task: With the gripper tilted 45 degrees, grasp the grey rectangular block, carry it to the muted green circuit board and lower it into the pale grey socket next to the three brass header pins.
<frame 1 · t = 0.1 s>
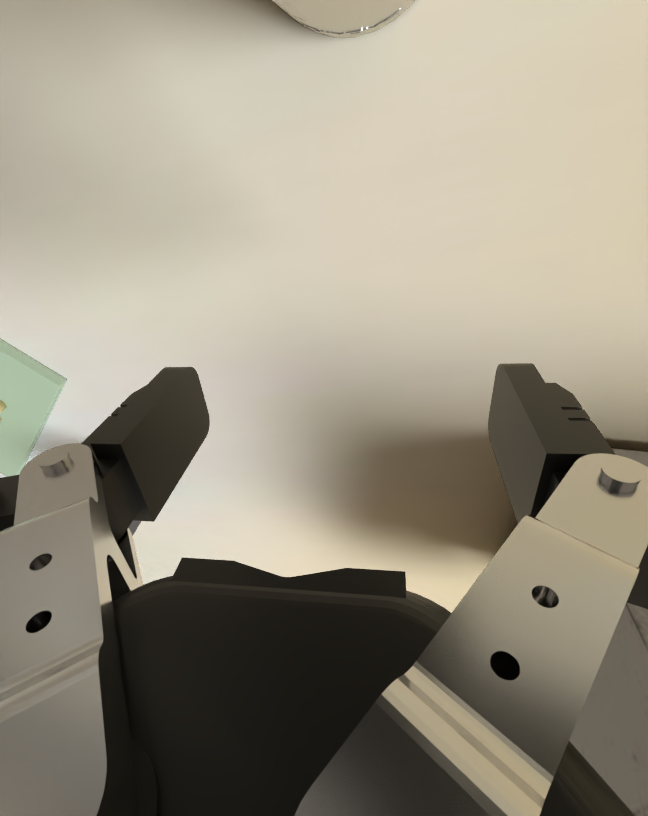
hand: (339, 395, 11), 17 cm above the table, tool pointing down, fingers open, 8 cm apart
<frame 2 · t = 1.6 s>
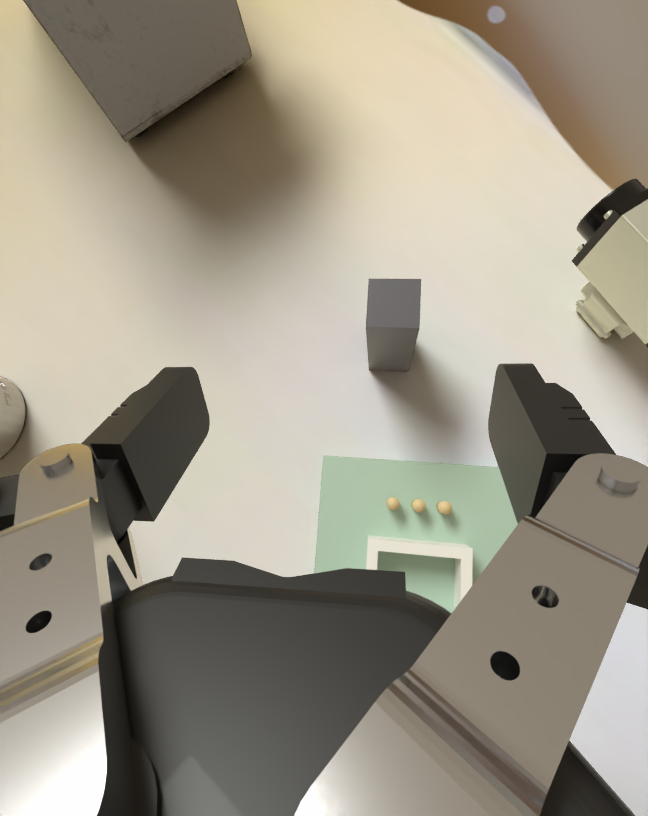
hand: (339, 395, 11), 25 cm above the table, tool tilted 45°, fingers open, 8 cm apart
grey rectangular block: (389, 351, 38), on the table
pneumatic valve: (605, 312, 36), on the table
vintage electronic device: (142, 28, 50), on the table
circuit board: (413, 587, 33), on the table
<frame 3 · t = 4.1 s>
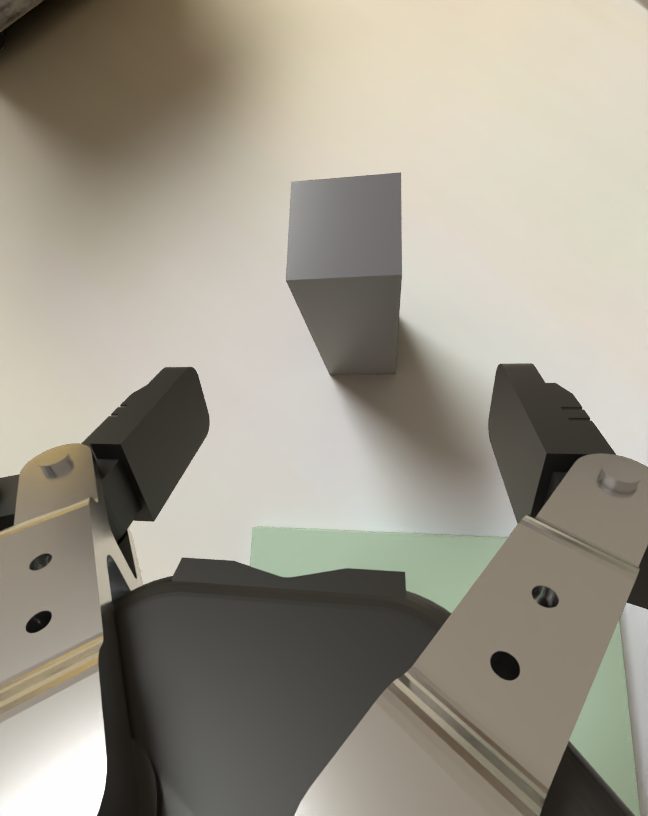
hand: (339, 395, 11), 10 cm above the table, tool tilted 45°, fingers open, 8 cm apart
grey rectangular block: (362, 343, 23), on the table
circuit board: (422, 774, 18), on the table
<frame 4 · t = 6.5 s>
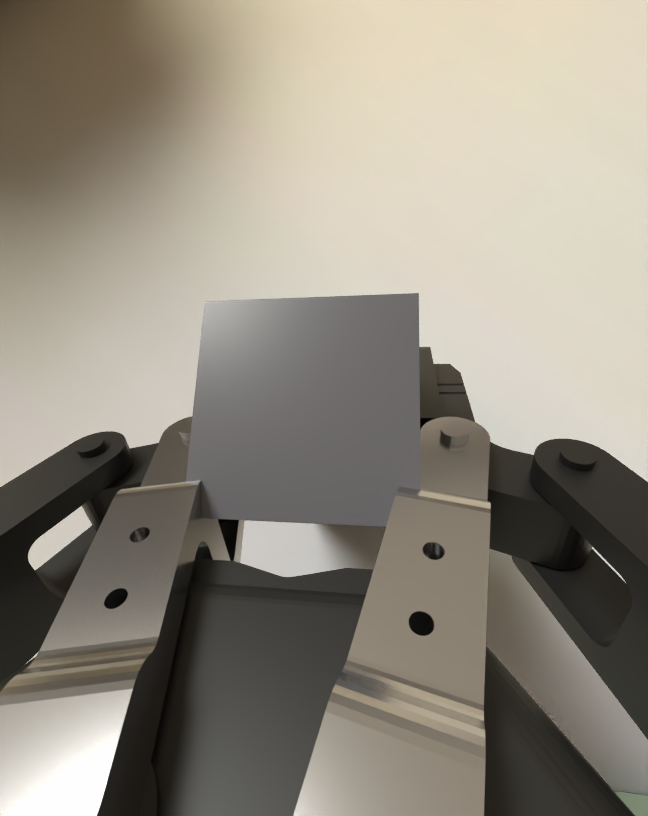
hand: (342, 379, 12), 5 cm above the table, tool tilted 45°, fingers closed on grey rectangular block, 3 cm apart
grey rectangular block: (354, 461, 16), on the table, touching gripper
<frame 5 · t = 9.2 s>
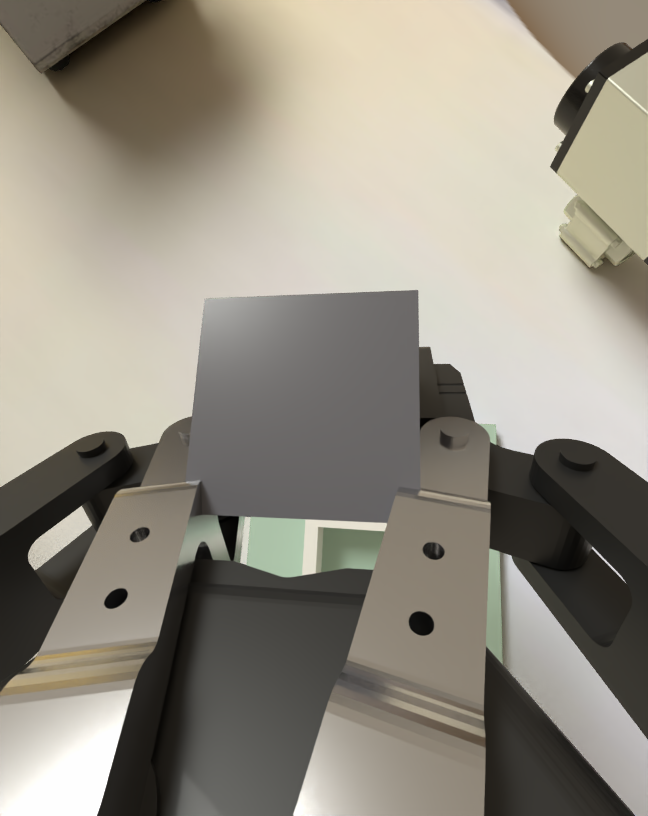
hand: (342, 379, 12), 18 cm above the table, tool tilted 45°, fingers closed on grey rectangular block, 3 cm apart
grey rectangular block: (354, 460, 16), point 13 cm above the table, touching gripper
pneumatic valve: (595, 239, 30), on the table
circuit board: (368, 573, 27), on the table
when the fingers open (6 cm above the table, at t = 12.0 s): grey rectangular block stays where it is, resting on circuit board.
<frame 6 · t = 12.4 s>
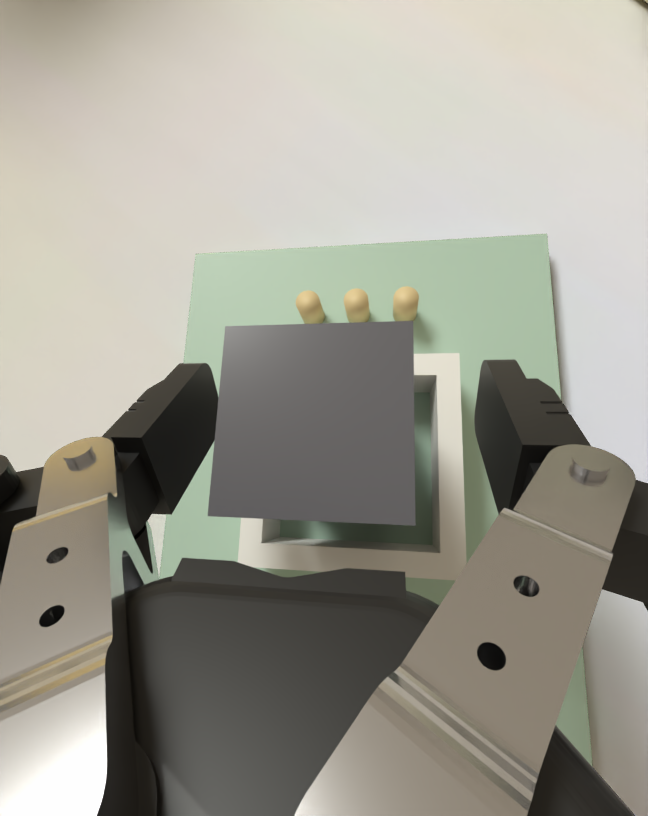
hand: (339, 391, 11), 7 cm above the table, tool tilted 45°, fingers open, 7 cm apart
grey rectangular block: (355, 465, 17), point 1 cm above the table, touching circuit board
circuit board: (357, 465, 18), on the table
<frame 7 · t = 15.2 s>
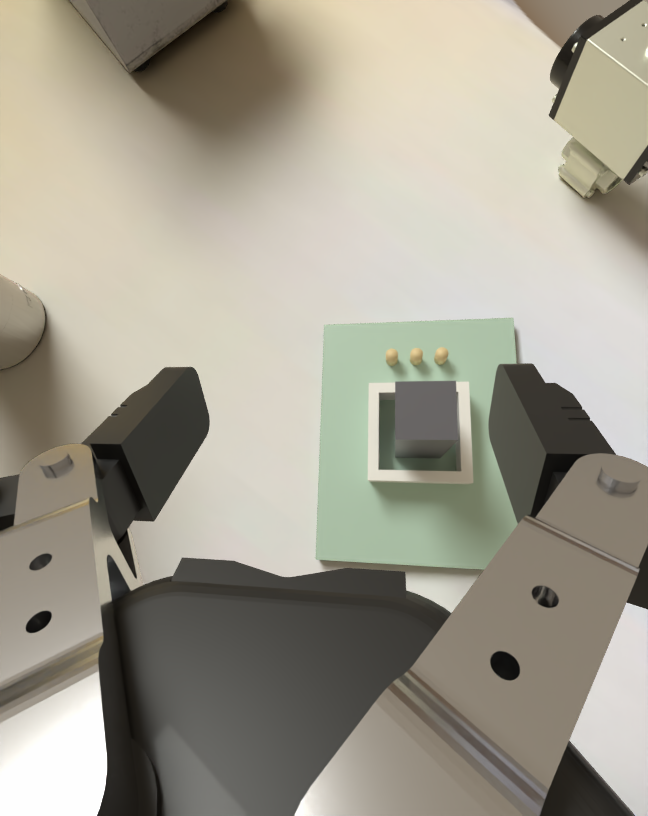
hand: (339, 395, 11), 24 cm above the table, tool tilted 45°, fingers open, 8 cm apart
grey rectangular block: (417, 436, 34), point 1 cm above the table, touching circuit board
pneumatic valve: (588, 176, 38), on the table
circuit board: (416, 437, 35), on the table
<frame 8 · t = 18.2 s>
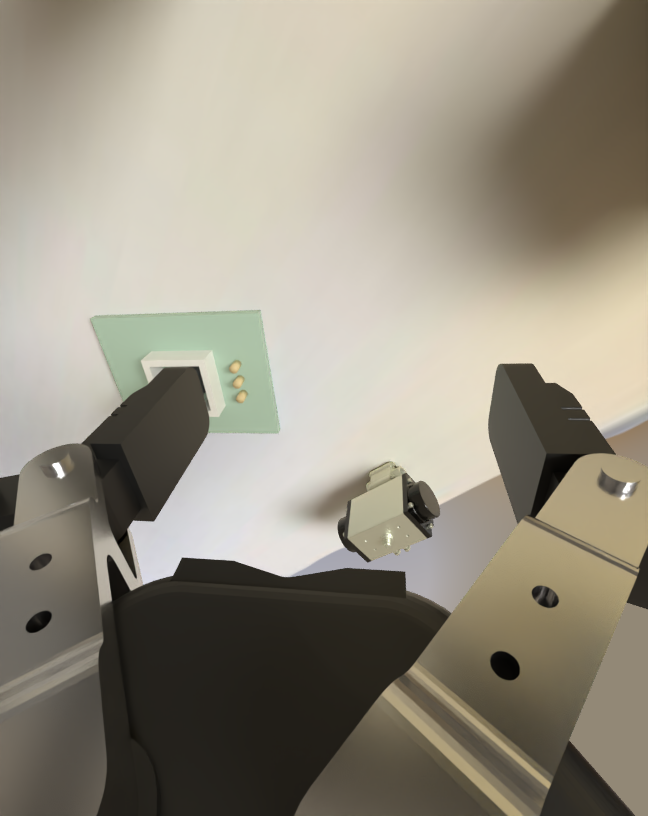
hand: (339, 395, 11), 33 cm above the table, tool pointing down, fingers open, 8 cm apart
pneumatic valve: (389, 474, 56), on the table
circuit board: (192, 375, 51), on the table
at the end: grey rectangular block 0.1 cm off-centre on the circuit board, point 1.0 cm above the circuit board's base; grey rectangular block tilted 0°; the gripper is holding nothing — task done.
